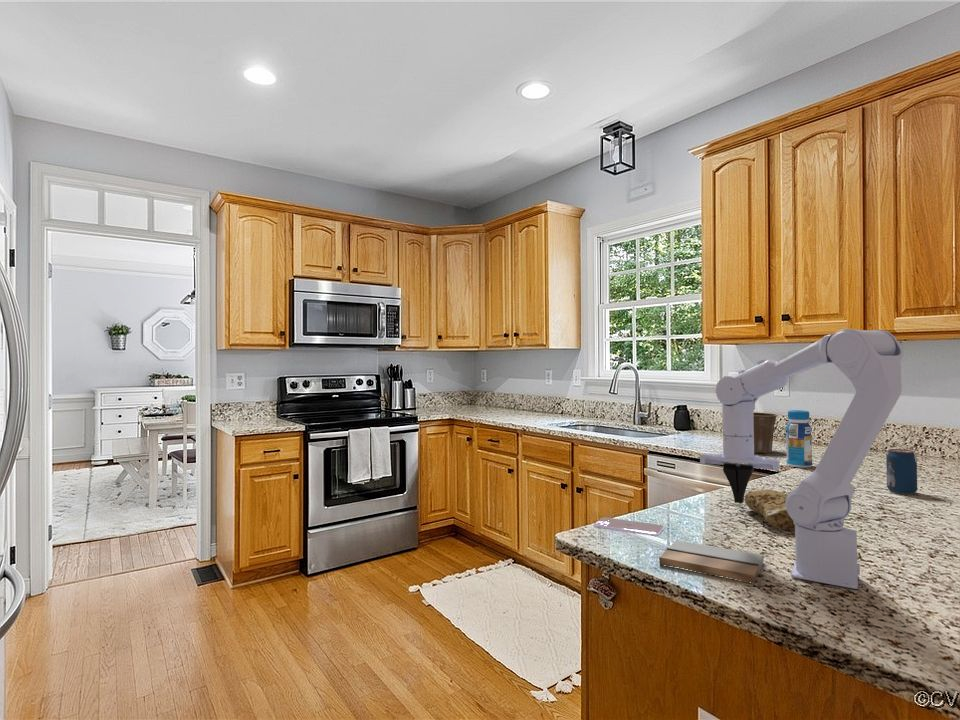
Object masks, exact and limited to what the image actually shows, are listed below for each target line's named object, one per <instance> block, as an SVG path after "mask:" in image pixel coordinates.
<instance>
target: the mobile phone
mask: <svg viewBox="0 0 960 720" xmlns="http://www.w3.org/2000/svg"><path fill="white" fill-rule="evenodd" d="M608 520H609V521H608ZM605 521H607V522H605ZM602 522H604V523H602ZM593 527H595V528H598V529H599V528H601V529H607V530H614V531H620V532H628V533H633V534H641V535H647V536H653V537H654V536H655V537H657V535H658V536H660V535H661V534H662V532H663V531H664V530H665V526H664V525H663V524H656V523H648V522H643V521H642V522H641V521H634V520H627V519H620V518H613V517H605V516H604V517H600V518H599V519H598V520H596V522H594V523H593Z"/></svg>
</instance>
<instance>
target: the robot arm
mask: <svg viewBox="0 0 960 720" xmlns="http://www.w3.org/2000/svg"><path fill="white" fill-rule="evenodd" d="M904 355H905V351H904V350H903V348H902V346H901V344H900V343H899V341H898V339H897V338H896V337H895V336H894V335H893V334H892V333H891V332H889V331H887V330H884V329H873V330H868V329H867V330H866V329H864V330H863V329H862V330H861V329H853V328H843V329H840V330H838V331H836V332H834V333H831V334H828V335H824V336H823V337H821V338H820V339H819V340H817V341H815V342H813V343H811V344H810V345H808V346H806V347H804V348H803V349H800V350H799V351H796V352H795V353H793V354H791V355H789V356H787V357H785V358H783V359H781V360H780V361H777V360H774V359H766V358H764V359H763V358H762V359H760V360H758V361H756V362H757V365H755V366H753V367H751V368H749V369H741V370H739V371H738V374H737V375H736V376H732V375H724V376H723V377H722V378H721V379H719V380H718V382H717V383H716V386H715V394H716V397H717V399H718V401H719V402H720V403H722V405H721V406H722V409H721V410H722V453H705V452H704V453H703V452H702V453H700V454H699V463H700V464H703V465H705V464H707V465H721V466H723V468H722V471H723V473H724V475H725V477H726V479H727V481H728V483H729V486H730V488H731V491H732V495H733V501H734V503H737V504H743V503H745V500H744V498H745V495H746V490H747V487H748V484H749V481H750V479H751V476H752V474H753V472H754V471H755V469H766V470H767V469H768V470H772V471H779V470H780V469H781V468H780V467H781V465H780V458H771V457H770V458H769V457H764V456H763V457H762V456H755V453H754V421H753V412H755V410H756V403H757V401H758V399H760V397H762V396H765V395H767V394H770V393H773V392H775V391H777V390H780V389H782V388H783V387H785V386H786V385H787V383H788V380H789V378H791V377H793V376H795V375H797V374H800V373H804V372H806V371H808V370H811V369H814V368H817V367H819V366H822V365H824V364H830V363H833V365H835V366H836V367H837V369H839V370H840V371H841V372H842V374H844V376H846V377H847V379H848V380H850V382H851V384H852V386H853V388H854V389H855V394H854V396H853V397H852V399H851V402H849V405H848V407H847V408H846V410H845V413H844V414H843V417H842V418H841V421H840V422H839V424H838V426H837V428H836V430H835V432H834V434H833V436H832V438H831V439H830V441H829V443H828V445H827V447H826V449H825V451H824V452H823V455H822V456H821V459H820V460H819V462H818V464H817V466H816V468H815V470H814V471H812V472H811V473H810V474H808V475H807V476H805V478H803V479H802V480H801V481H800V483H799V485H798V486H797V488H794V489H793V490H792V491H790V492H789V493H787V494H788V495H787V497H786V502H785V505H786V510H787V512H788V514H789V516H790V517H791V518H792V520H793V524H794V525H795V531H794V537H795V538H794V539H795V541H794V544H795V561H794V564H793V568H792V570H791V571H792V572H791V577H792V578H795V579H801V580H805V581H811V582H816V583H822V584H826V585H827V584H828V585H833V586H837V587H843V588H849V589H853V590H858V588H859V587H858V586H859V583H858V579H859V578H858V577H859V576H860V574H861V571H860V570H861V567H860V563H858V541H857V540H858V536H857V535H858V532H857V530H855V529H850V528H846V527H844V525H845V520H844V519H845V518H847V517H848V516H849V515H850V513H851V511H852V500H853V499H852V498H853V495H854V493H855V492H856V490H855V487H854V486H853V485H852V484H851V483H852V482H853V480H854V479H855V478H854V477H855V476H856V474H857V473H858V471H859V469H860V468H861V465H862V464H863V462H864V460H865V458H866V457H867V455H868V454H869V451H870V449H871V448H872V446H873V445H874V443H875V441H876V440H877V437H878V435H879V434H880V432H881V431H882V429H883V427H884V425H885V424H886V421H887V419H888V418H889V416H890V414H891V412H892V411H893V409H894V408H895V406H896V404H897V403H898V400H899V398H900V397H901V394H902V389H903V388H902V372H901V371H902V369H901V361H902V359H903V357H904ZM858 575H859V576H858Z"/></svg>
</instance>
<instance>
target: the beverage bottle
mask: <svg viewBox="0 0 960 720" xmlns="http://www.w3.org/2000/svg"><path fill="white" fill-rule="evenodd" d="M787 418H788V419H787V420H789V422H788V423H787V424H786V426H785V430H786V433H785V440H786V441H785V443H786V445H785V447H786V460H785V461H786V465H787V466H789V467H791V468H792V467H794V468H801V469H802V468H805V469H806V468H811V467H813V435H812V432H813V430H812V429H813V428H812V426H811V425H810V423H809V422H808V421H810V411H808V410H803V409H802V410H801V409H800V410H796V409H795V410H794V409H793V410H792V409H791V410H790V409H789V410H788V411H787Z"/></svg>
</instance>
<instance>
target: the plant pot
mask: <svg viewBox="0 0 960 720" xmlns="http://www.w3.org/2000/svg"><path fill="white" fill-rule="evenodd" d="M777 417H778V414H777V413H771V412H770V413H768V412H756V411H754V412H753V421H754V454H759V453H761V454H771V453H772V452H773V443H774V432H775V425H776V422H777V421H776V420H777Z"/></svg>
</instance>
